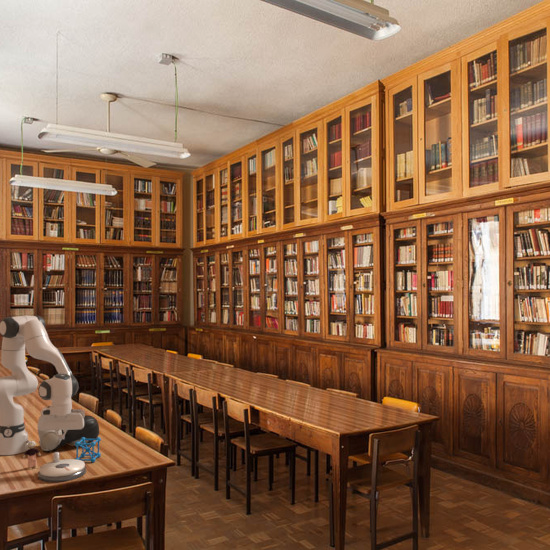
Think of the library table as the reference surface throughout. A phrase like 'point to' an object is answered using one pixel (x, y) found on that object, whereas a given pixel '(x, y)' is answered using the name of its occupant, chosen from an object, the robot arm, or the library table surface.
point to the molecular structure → (88, 449)
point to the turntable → (61, 467)
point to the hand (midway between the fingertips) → (60, 439)
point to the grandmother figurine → (32, 455)
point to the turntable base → (61, 477)
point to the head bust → (69, 435)
